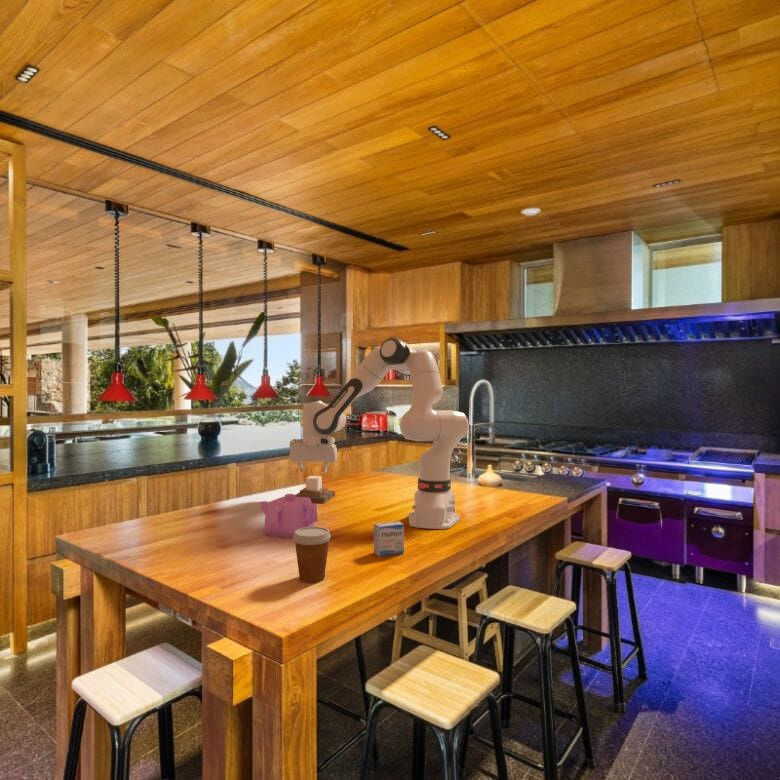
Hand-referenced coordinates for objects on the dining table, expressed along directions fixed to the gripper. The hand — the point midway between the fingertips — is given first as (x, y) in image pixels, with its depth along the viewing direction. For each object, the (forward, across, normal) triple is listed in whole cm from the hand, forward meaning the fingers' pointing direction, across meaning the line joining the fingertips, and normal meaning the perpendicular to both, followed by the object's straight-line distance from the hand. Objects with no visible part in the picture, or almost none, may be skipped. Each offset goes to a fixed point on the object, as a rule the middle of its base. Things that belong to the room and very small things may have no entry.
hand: (313, 472), depth 222 cm
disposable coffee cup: (+13, +29, -83) cm, 89 cm away
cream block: (+7, 0, +1) cm, 7 cm away
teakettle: (+12, +7, -45) cm, 47 cm away
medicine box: (+13, +44, -61) cm, 76 cm away
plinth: (+11, 0, +1) cm, 11 cm away
